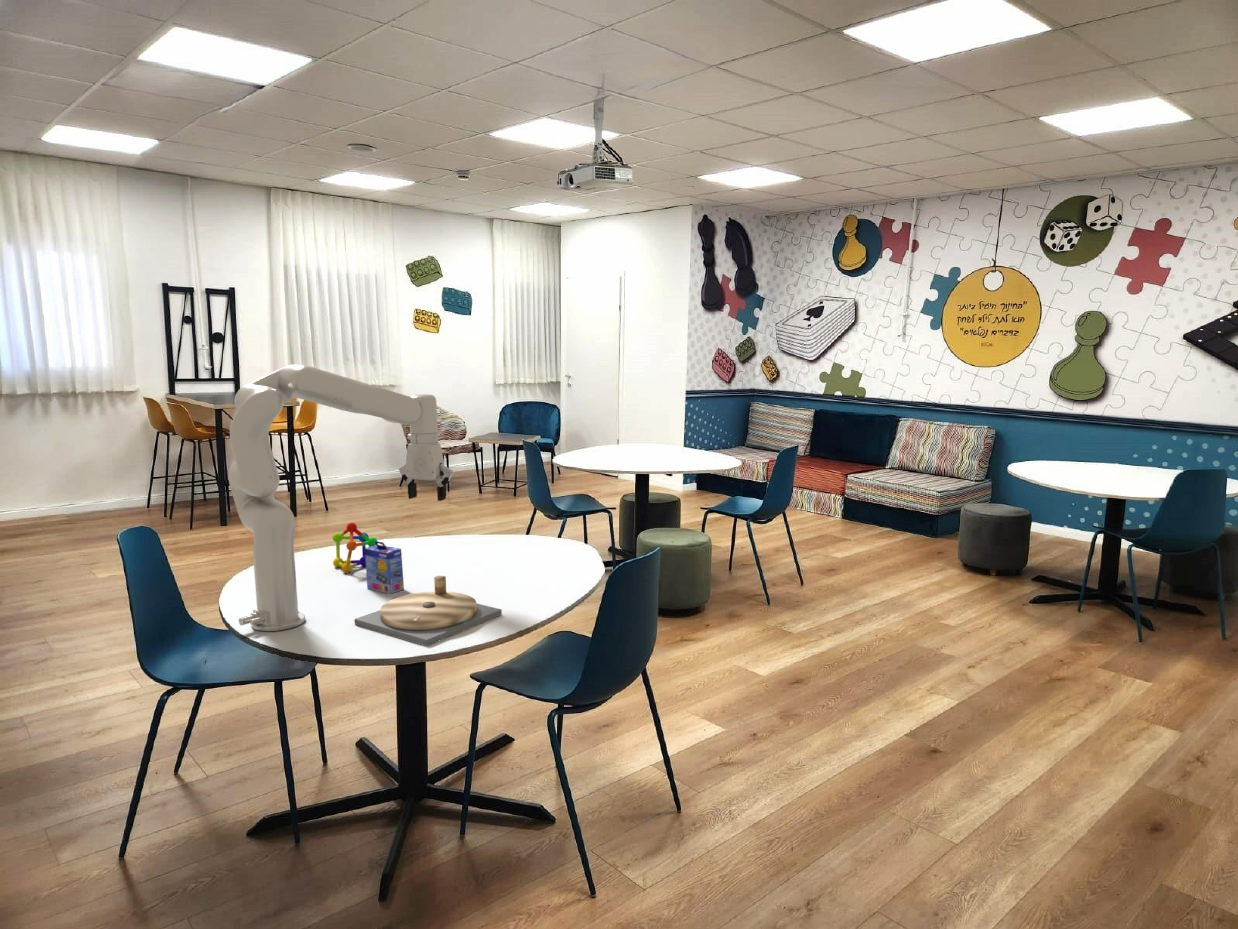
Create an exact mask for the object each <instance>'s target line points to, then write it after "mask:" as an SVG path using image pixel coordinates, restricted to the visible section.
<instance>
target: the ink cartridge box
mask: <svg viewBox="0 0 1238 929" xmlns="http://www.w3.org/2000/svg"><path fill="white" fill-rule="evenodd" d="M374 542H375V544H376V545H375V546H371V547H369V546H368V547H366V548H365V559H366V566H365V572H366V573H365V574H366V586H367V588H366V589H368V590H373V591H376V592H380V593H384V594H389V595H391V594H395V593H396V592H400V591H403V590H404V589H405V584H404V573H403V572H404V571H403V570H404V569H403V556H402V555H403V553H402V549H401V548H400V547H394V546H387V545H386V544H385V543H384V542H382V541H378V540H377V541H374Z"/></svg>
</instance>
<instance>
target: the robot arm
mask: <svg viewBox="0 0 1238 929" xmlns="http://www.w3.org/2000/svg"><path fill="white" fill-rule="evenodd" d="M295 398H296V399H300V400H304V401H307V402H311V403H316V404H319V405H321V406H326V407H330V408H333V409H336V410H340V411H344V412H347V413H348V412H349V413H351V414H352V413H354V414H362V415H369V416H373V417H376V418H377V417H378V418H382V419H383V420H384V421H386V422H388V423H392V424H400V425H405V426H409V433H408V434H407V437H406V438H407V439H408V440H409V441H410V443H408V445H407V448H406V457H405V465H403V466H401V467H400V468H399V469H398V470H399V474H400V475H401V478H402V480H403V481H404V482H405V485H406V486H407V494H408V496H407V497H408V499H409V500H411V499H415V498H416V497H417V496H418V490H417V488H418V487H417V483H415V482H416V480H418V481H435V483H436V484H437V487H436V491H437V492H436V493H437V501H438V502H441V501H444V500H446V498H447V486H448V485H449V483H450V481H452V477H453V475H454V471H453V470H452V469H451V468H449V467H448V466H446V465H445V463H444V456H443V450H442V447H441V443H439V430H438V410H437V409H438V408H437V398H436V396H435V395H433V394H422V393H421V394H420V393H419V394H413V395H407V394H402V393H399V392H396V391H392V390H389V389H387V388H381V387H379V386H375V385H372V384H369V383H365V382H363V381H359V380H355V379H354V378H350V377H346V376H343V375H339V374H336V373H333V372H330V371H326V370H322V369H320V368H317V367H315V366H314V367H313V366H310V365H306V364H305V365H304V364H289V365H286V366H284V367H281V368H279V369H276V370H275V371H272V372H271V373H269V374H266V375H265V376H262V377H259V378H257V379H255V380H253V381H252V382H249V383H247V384H245V385H244V386H242V387H241V388H239V389H238V391H237V392H236V393H235V396H234V400H233V401H234V406H235V409H236V412H235V413H234V414H235V415H234V416H233V418H232V421H231V423H230V429H229V438H230V440H229V441H230V445H231V449H232V450H231V451H232V454H233V457H234V461H233V462H232V463H231V465H230V466H229V467H230V468H229V470H228V482H229V483H228V484H229V487H230V492H231V494H232V497H233V500H234V505H235V508H236V512H237V514H238V517H239V519H240V520H239V521H240V522H241V524H242V525H243V526H244V527H245V528H246V529H247V530H249V531H250V532H252V533H253V548H252V560H253V570H254V573H253V574H254V583H255V586H254V587H255V595H256V596H255V597H256V599H255V600H256V607H255V608H253V609H252V612H251V613H250V615H246V616H242V617H239V619H238V623H239V625H240V626H245V625H248V624H250V625H251V628H252V629H254V630H256V631H260V632H277V631H278V632H279V631H284V630H288V629H293V628H295V627H298V626H300V625H302V624H303V623H304V622H305V621H306V614H304V613H303V612H301V611H299V603H298V588H297V576H296V559H295V535H296V534H295V533H296V519H295V515H294V513H293V511H292V510H291V509H290V508H289V507H288V506H287V504H285V503H283V502H282V501H279V500H277V499H276V498H275V495H274V494H275V493H276V491H277V490H278V488H279V486H280V474H279V471H278V468H277V465H276V464H277V463H276V462H275V458H274V455H273V451H272V448H271V441H270V432H269V431H270V428H271V426H272V423H273V422H274V421H275V420H276V418H277V417H279V415H280V414H281V413H282V411H283V407H284V405H285V404H287V403H288V402H291V400H294V399H295Z"/></svg>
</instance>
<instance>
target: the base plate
mask: <svg viewBox="0 0 1238 929" xmlns="http://www.w3.org/2000/svg"><path fill="white" fill-rule="evenodd" d="M502 615H503V614H502V609H501V608H498V607H493V606H489V605H486V604H485V605H484V604H481V603H477V612H476V614H475V615H474V616H473V617H472V618H471V619H469V620H467V621H465V622H463V623H460V624H457V625H453V626H449V627H444V628H438V629H429V630H406V629H399V628H394V627H391V626H388V625H386V624H384V623H383V622H382V621H381V618H380V609H379V610H376V611H373V612H371V613H367V614H365V615H362V616H359V617H357V618H354V626H358V627H361V628H365V629H368V630H372V631H375V632H378V633H382V634H385V635H389V636H392V637H395V638H399V639H401V640H402V639H403V640H406V641H409V642H411V641H412V642H413V643H415V644H418V643H420V644H419V645H422V644H423V645H422V646H426V647H428V646H431V645H432V643H433V644H435V643H438V642H440V641H442V640H445V639H447V638H450V637H452V636H454V634H455V635H457V634H459V633H461V631H462V632H463V630H464V631H466V630H469V629H471V628H473V627H472V626H474V627H476V626H479V625H480V623H481V624H483V623H486V622H488V621H490V619H491V620H492V619H495V617H496V618H497V616H498V617H500V616H502ZM478 624H479V625H478ZM470 627H471V628H470ZM456 633H457V634H456ZM439 640H440V641H439Z"/></svg>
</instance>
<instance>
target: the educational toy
mask: <svg viewBox="0 0 1238 929" xmlns="http://www.w3.org/2000/svg"><path fill="white" fill-rule="evenodd" d="M348 533H349V535H346V534H348ZM354 533H355V534H356V535H354ZM343 540H348V542H346V545H345V546H346V549H347V550H348V552H347V558H346V560H343V558H342V557H341V554H340V552H341V550H340V545H341V544H340V543H341V542H342V541H343ZM355 540H359V542H356V541H355ZM332 541H333V542H335V545H336V547H335V548H336V551H335V552H336V558H334V560H333V561H332V563H333V566H334V567H335V568H341V571H342V572H343V573H345V574H349V573H350V572H351V571H352V570H353V568H356V567H358V566H362V567H366V559H365V548H367V547H366V546H368V547H371V546H375V545H376V544H375V542H374V541H378V539H377V538H376V537H372V536H371V537H369V534H368V533H366V532H362V531H360V530H359V529H358V526H357V524H356V523H355V522H349V523H347V525H346V529H345V530H344V531H342V532H335V533H334V534H333V535H332ZM358 547H361V550H362V552H361V553H362V557H360V558H359V559H352V560H351V558H352V554H353V551H355V550H356V549H357V548H358Z"/></svg>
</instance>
